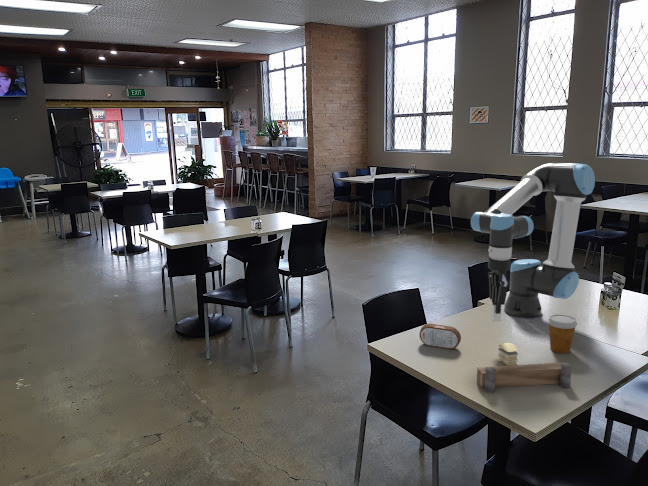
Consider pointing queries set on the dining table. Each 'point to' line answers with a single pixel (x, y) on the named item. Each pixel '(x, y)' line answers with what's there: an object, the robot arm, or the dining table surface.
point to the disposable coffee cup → (561, 332)
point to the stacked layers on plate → (508, 353)
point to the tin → (440, 336)
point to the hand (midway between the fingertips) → (495, 320)
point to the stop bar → (524, 375)
